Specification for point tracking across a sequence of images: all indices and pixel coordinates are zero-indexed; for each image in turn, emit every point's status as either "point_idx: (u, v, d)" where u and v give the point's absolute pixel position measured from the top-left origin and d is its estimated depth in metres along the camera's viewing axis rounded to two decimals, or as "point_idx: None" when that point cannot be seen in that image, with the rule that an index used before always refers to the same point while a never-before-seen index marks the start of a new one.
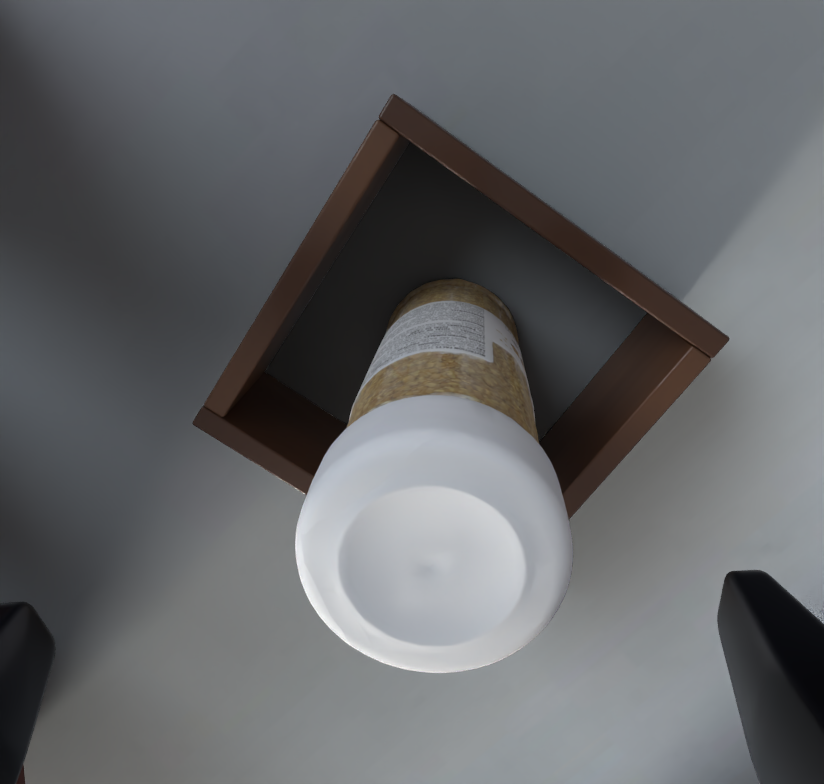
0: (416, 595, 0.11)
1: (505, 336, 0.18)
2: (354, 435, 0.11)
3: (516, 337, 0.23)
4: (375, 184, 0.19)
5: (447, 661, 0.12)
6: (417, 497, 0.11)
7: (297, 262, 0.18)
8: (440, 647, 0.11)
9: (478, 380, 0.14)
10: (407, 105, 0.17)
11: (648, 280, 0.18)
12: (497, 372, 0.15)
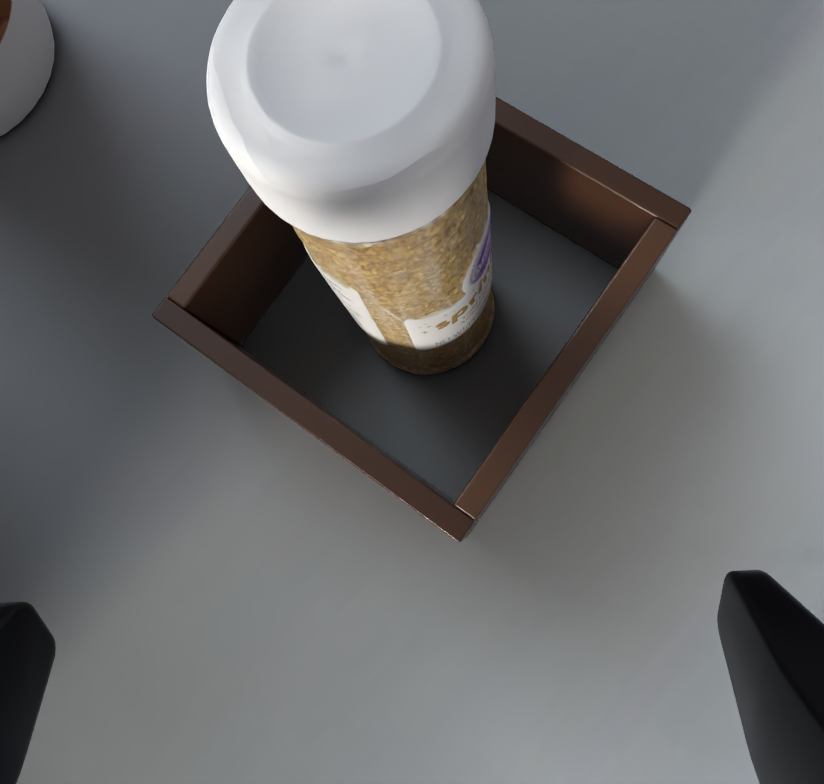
0: (326, 87, 0.10)
1: None
2: None
3: (491, 293, 0.23)
4: None
5: (356, 166, 0.10)
6: None
7: None
8: (348, 147, 0.10)
9: None
10: None
11: (602, 158, 0.19)
12: None
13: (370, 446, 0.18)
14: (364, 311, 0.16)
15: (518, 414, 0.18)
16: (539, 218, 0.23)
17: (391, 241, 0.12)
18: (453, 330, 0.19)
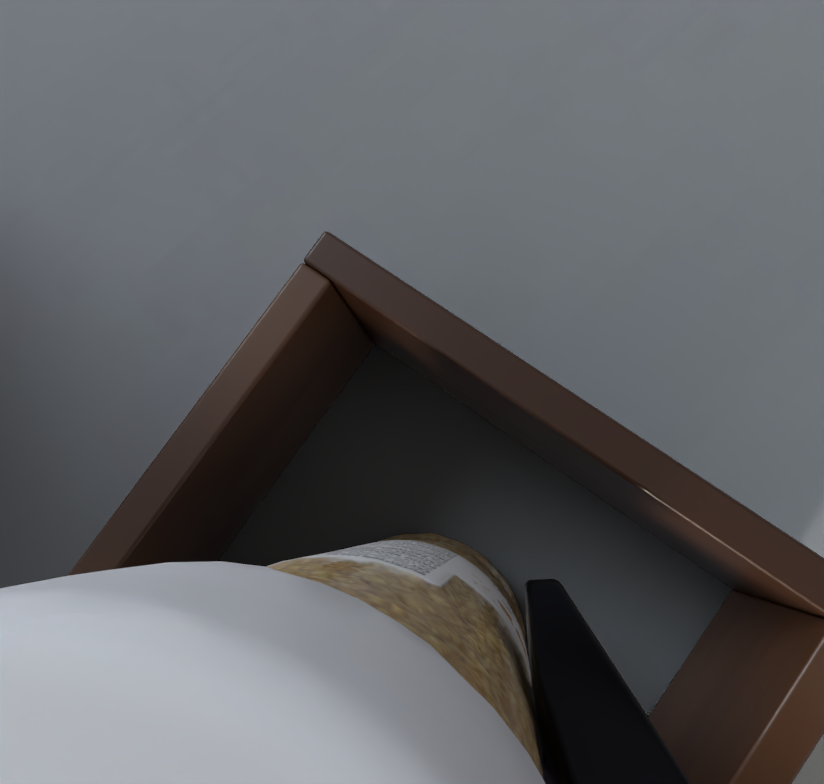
0: None
1: (488, 587, 0.10)
2: None
3: (521, 628, 0.14)
4: (306, 373, 0.14)
5: None
6: None
7: (162, 461, 0.12)
8: None
9: (384, 591, 0.06)
10: (344, 243, 0.12)
11: (731, 499, 0.11)
12: (445, 601, 0.07)
13: None
14: None
15: None
16: (594, 493, 0.15)
17: None
18: None
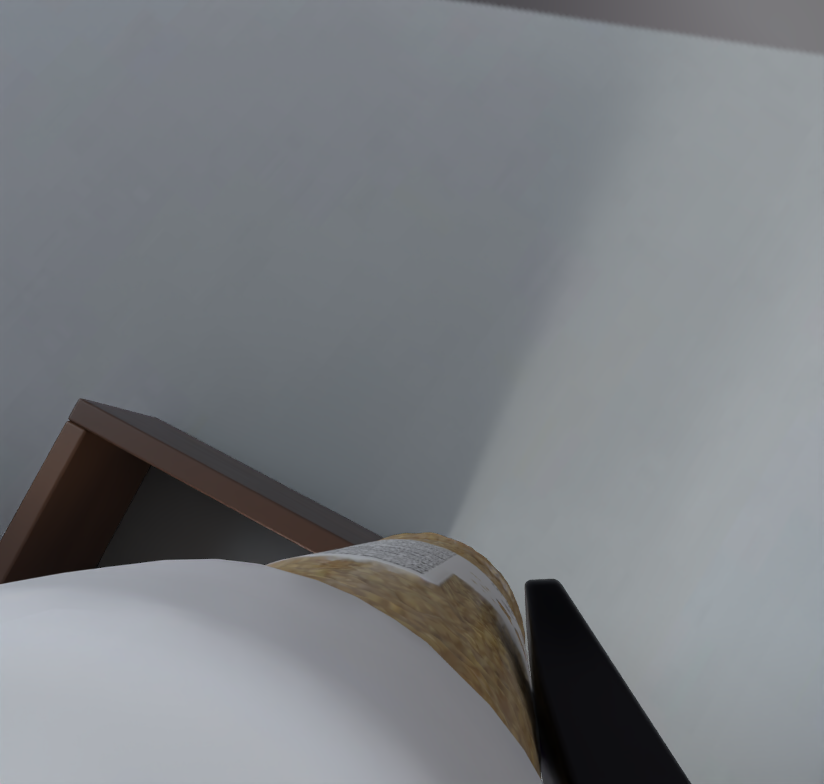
0: None
1: (487, 586, 0.10)
2: None
3: (520, 627, 0.14)
4: (95, 482, 0.21)
5: None
6: None
7: None
8: None
9: (380, 590, 0.06)
10: (91, 405, 0.19)
11: (325, 530, 0.18)
12: (443, 600, 0.07)
13: None
14: None
15: None
16: None
17: None
18: None
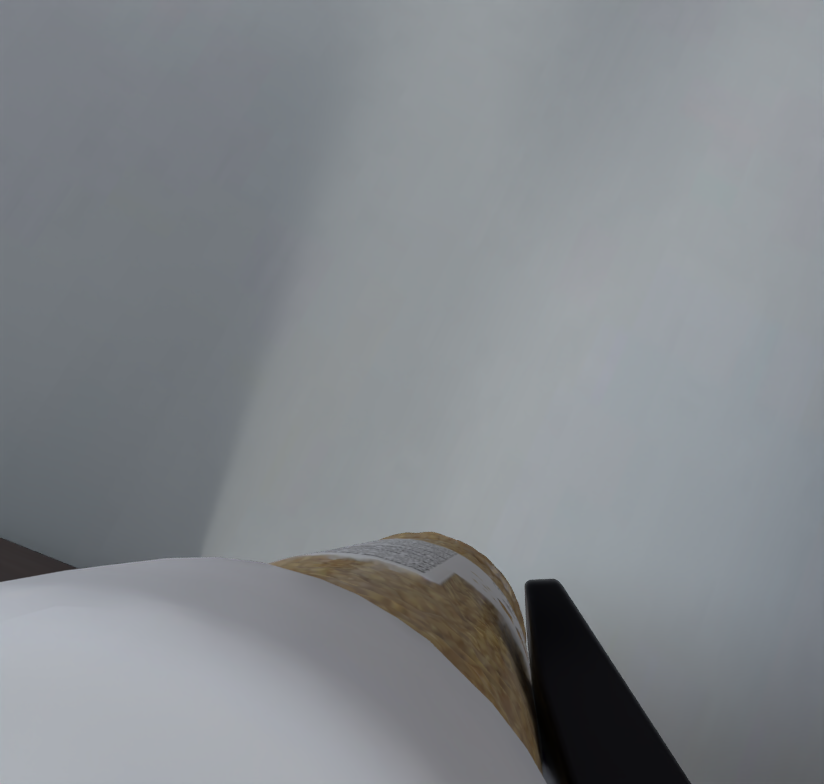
0: None
1: (488, 585, 0.10)
2: None
3: (521, 627, 0.14)
4: None
5: None
6: None
7: None
8: None
9: (382, 588, 0.06)
10: None
11: None
12: (444, 599, 0.07)
13: None
14: None
15: None
16: None
17: None
18: None
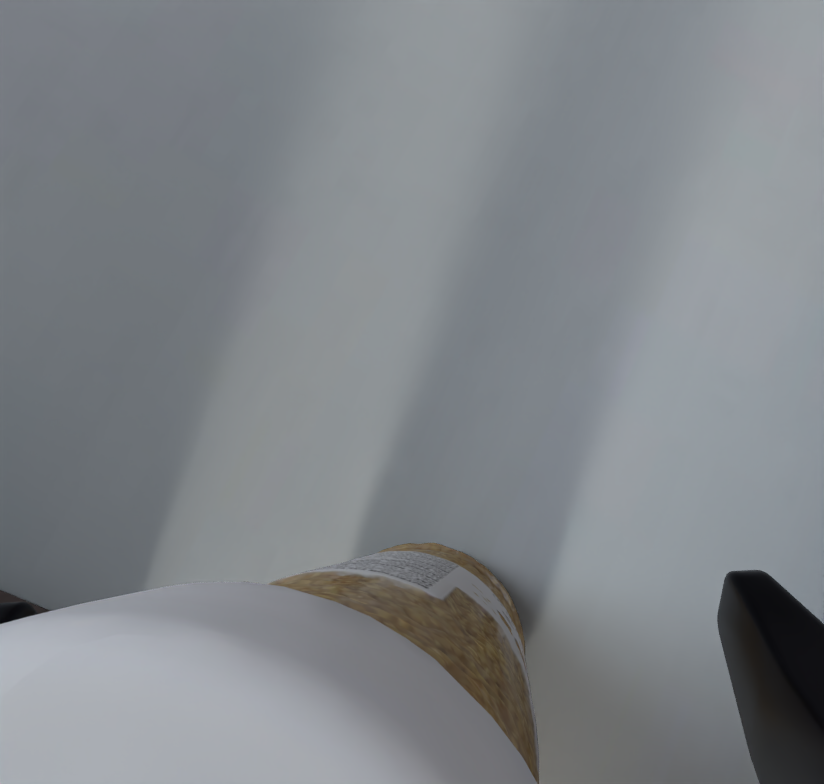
0: None
1: (488, 598, 0.11)
2: None
3: (520, 636, 0.15)
4: None
5: None
6: None
7: None
8: None
9: (389, 605, 0.06)
10: None
11: None
12: (447, 614, 0.07)
13: None
14: None
15: None
16: None
17: None
18: None
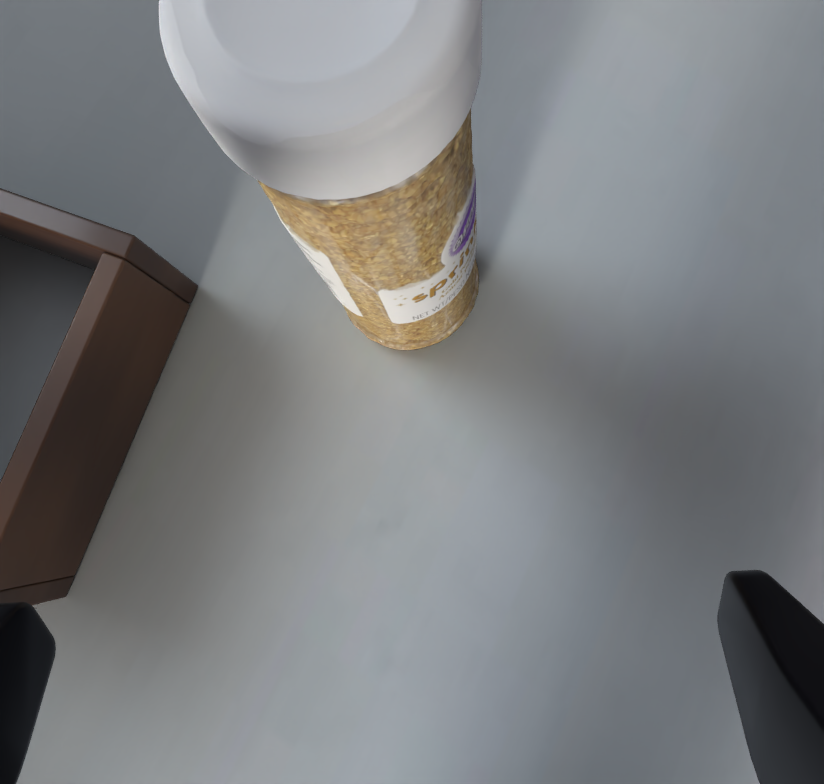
0: (291, 20, 0.09)
1: None
2: None
3: (476, 268, 0.22)
4: None
5: (319, 111, 0.09)
6: None
7: None
8: (312, 88, 0.09)
9: None
10: None
11: (46, 205, 0.19)
12: None
13: None
14: (336, 278, 0.15)
15: (2, 479, 0.18)
16: (80, 263, 0.23)
17: (360, 201, 0.11)
18: (431, 304, 0.18)
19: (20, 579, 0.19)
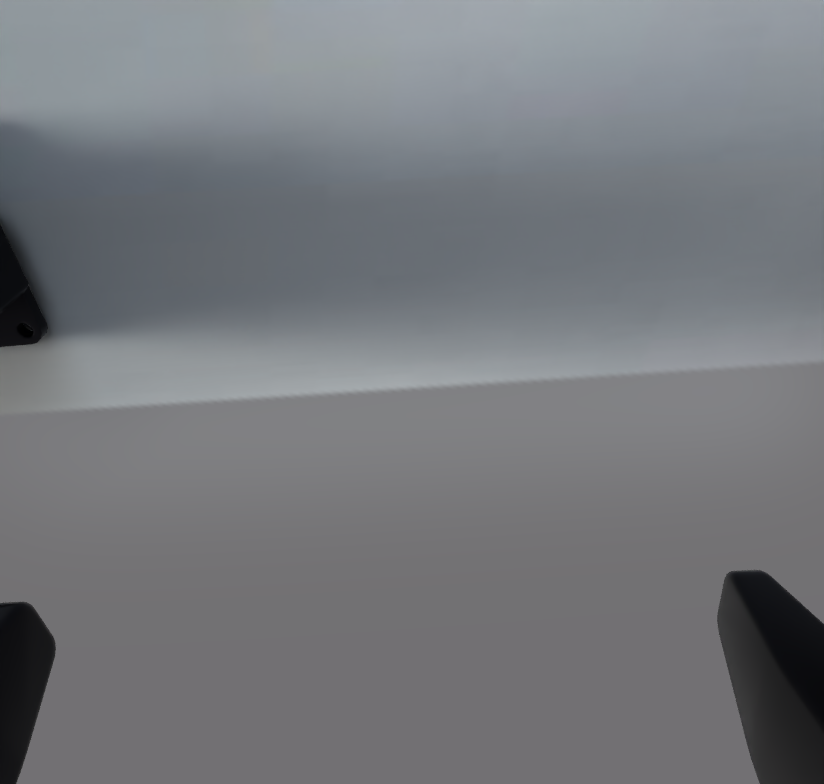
0: None
1: None
2: None
3: None
4: None
5: None
6: None
7: None
8: None
9: None
10: None
11: None
12: None
13: None
14: None
15: None
16: None
17: None
18: None
19: None
